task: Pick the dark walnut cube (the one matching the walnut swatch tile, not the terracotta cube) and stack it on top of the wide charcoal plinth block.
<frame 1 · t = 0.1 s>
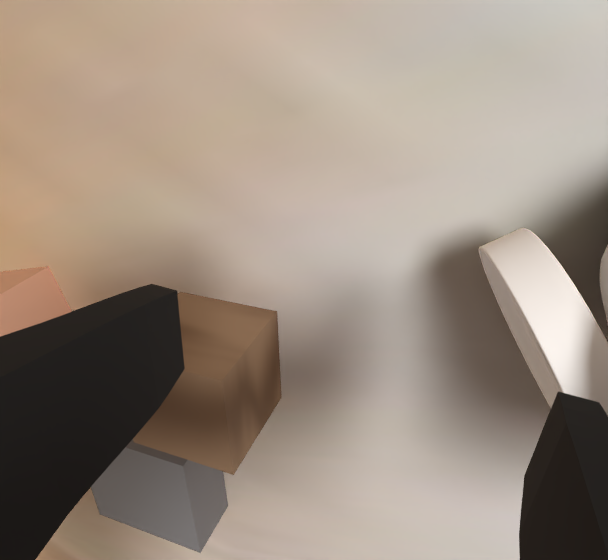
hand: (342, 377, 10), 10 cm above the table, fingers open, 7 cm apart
terracotta cube: (41, 300, 29), on the table
plinth: (173, 446, 31), on the table
walnut cube: (232, 344, 25), on the table
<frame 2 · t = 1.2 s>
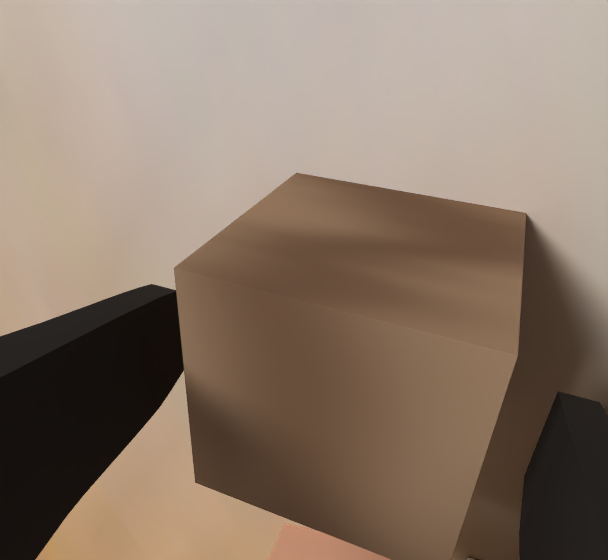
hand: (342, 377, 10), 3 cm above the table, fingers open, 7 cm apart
walnut cube: (389, 288, 12), on the table
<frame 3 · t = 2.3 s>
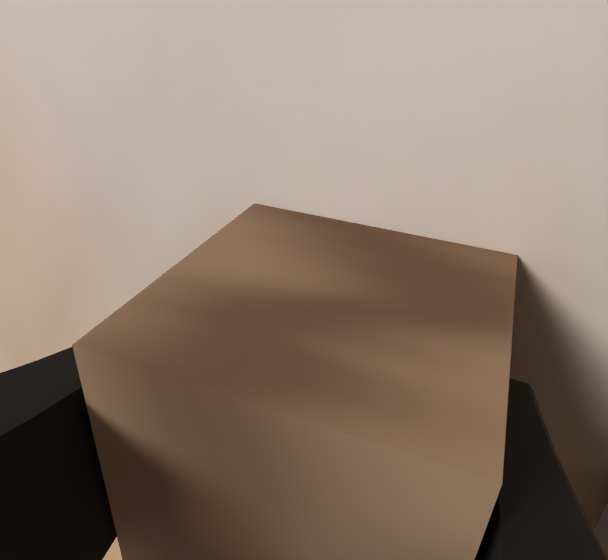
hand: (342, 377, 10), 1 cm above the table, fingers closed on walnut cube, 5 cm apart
walnut cube: (362, 335, 11), on the table, touching gripper
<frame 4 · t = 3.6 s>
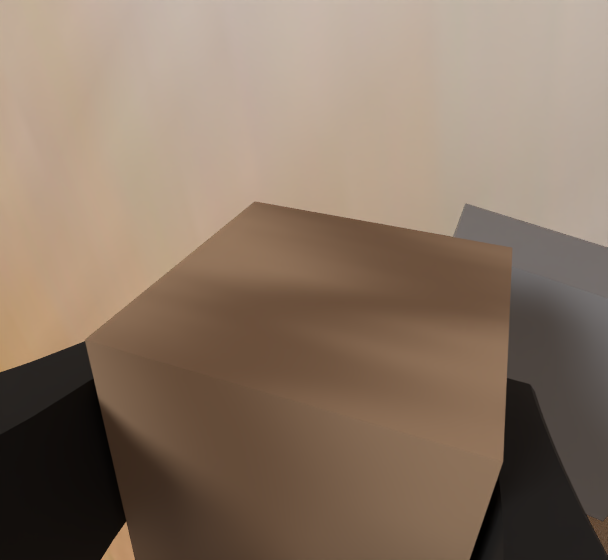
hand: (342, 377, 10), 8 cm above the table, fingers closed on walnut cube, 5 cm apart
plinth: (533, 327, 17), on the table
walnut cube: (362, 329, 11), point 7 cm above the table, touching gripper
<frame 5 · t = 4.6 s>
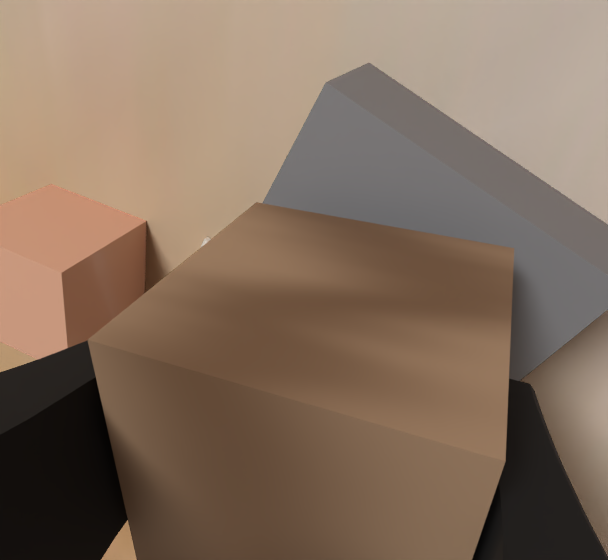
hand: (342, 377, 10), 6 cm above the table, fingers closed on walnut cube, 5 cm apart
terracotta cube: (100, 249, 19), on the table
plinth: (408, 243, 15), on the table
walnut cube: (363, 330, 11), point 4 cm above the table, touching gripper
when the fingers open (6 cm above the table, at t = 5.2 s): walnut cube drops 1 cm, resting on plinth.
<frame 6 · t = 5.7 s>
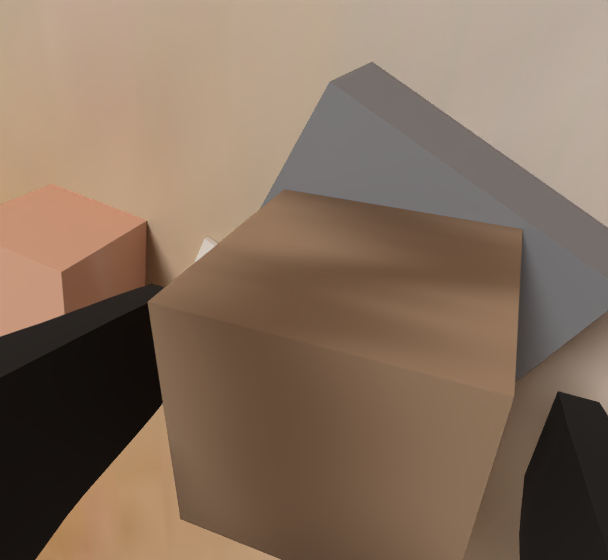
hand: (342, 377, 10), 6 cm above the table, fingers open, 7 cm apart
terracotta cube: (101, 249, 19), on the table
plinth: (409, 241, 15), on the table, touching walnut cube
walnut cube: (382, 307, 12), point 3 cm above the table, touching plinth
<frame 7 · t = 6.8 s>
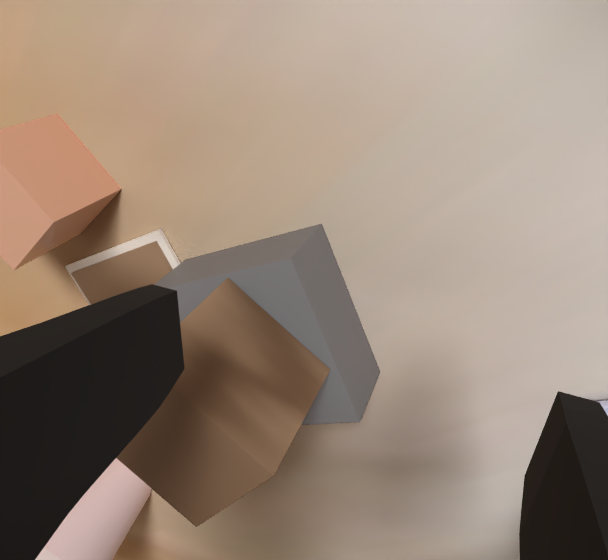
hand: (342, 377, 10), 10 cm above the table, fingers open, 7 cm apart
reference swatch: (147, 308, 25), on the table
terracotta cube: (71, 177, 23), on the table
plinth: (283, 310, 23), on the table, touching walnut cube
walnut cube: (245, 357, 20), point 3 cm above the table, touching plinth
smoothie: (129, 475, 34), on the table
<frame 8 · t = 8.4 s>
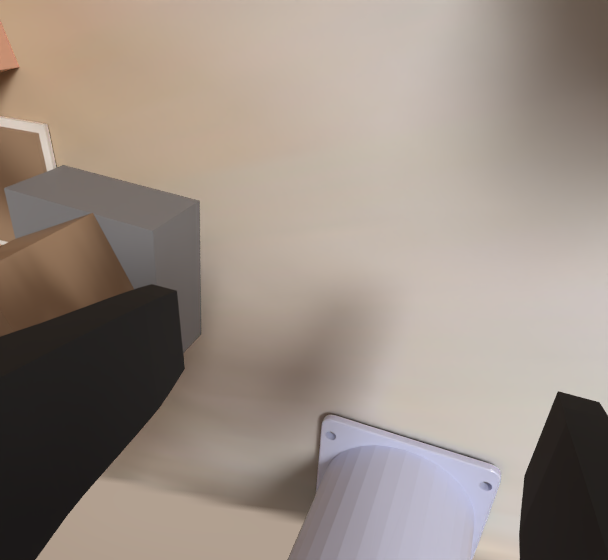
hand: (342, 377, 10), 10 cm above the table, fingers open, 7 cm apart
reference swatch: (7, 185, 25), on the table
plinth: (138, 250, 24), on the table, touching walnut cube
walnut cube: (82, 281, 21), point 3 cm above the table, touching plinth
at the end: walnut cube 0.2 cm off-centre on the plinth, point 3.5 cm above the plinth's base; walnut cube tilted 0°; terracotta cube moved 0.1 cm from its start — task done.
